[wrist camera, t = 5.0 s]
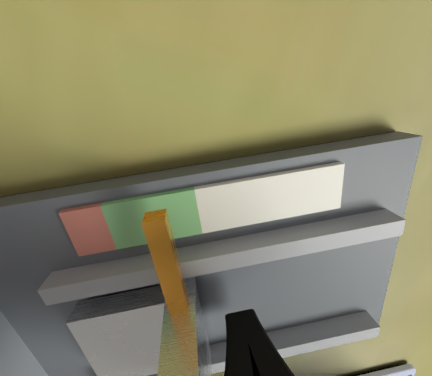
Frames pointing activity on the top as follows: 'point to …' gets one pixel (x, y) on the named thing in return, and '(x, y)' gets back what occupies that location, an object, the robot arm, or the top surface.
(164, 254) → the gauge pointer slider
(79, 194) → the gauge base
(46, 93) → the top surface
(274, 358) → the robot arm
